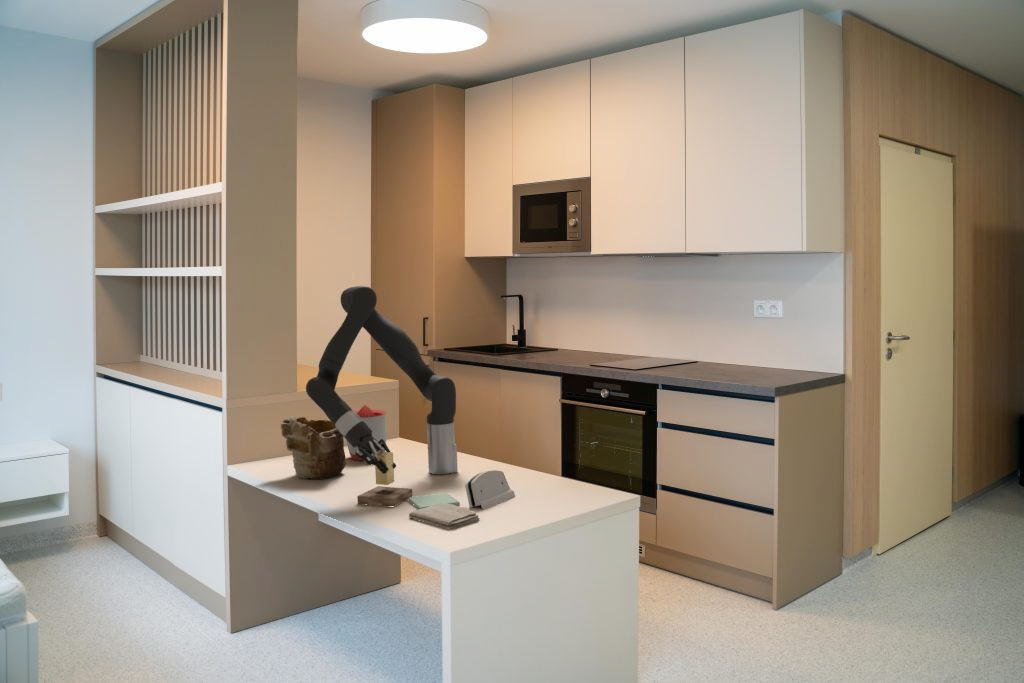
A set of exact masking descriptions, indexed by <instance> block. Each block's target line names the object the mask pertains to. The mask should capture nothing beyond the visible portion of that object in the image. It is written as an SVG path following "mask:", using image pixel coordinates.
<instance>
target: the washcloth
mask: <svg viewBox="0 0 1024 683" xmlns="http://www.w3.org/2000/svg"><path fill="white" fill-rule="evenodd" d="M408 518H409V519H410V518H413V519H412V520H414V519H416V520H415V521H417V520H420V521H419V522H421V521H424V522H423V523H425V522H426V523H425V524H428V523H430V525H433V526H436V525H437V527H439V526H440V528H443V529H446V530H451V529H457V528H460V527H463V526H466V525H469V524H472V523H475V522H478V521H479V520H480V517H479V515H478V514H477V511H472V510H470V509H468V507H466V506H463V507H462V506H460V505H457V506H456V505H452V504H446V503H437V504H434V505H431V506H429V507H426V508H422V509H418V508H417V509H416V510H413V511H411V512H409V513H408Z"/></svg>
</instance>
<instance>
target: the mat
mask: <svg viewBox="0 0 1024 683" xmlns="http://www.w3.org/2000/svg"><path fill="white" fill-rule="evenodd" d="M408 500H409V501H410V502H411V503H410V502H409V501H408ZM408 500H407V501H408V502H409V503H410V504H412V505H413V504H414V505H415V506H416V507H417V508H416V507H415V506H414V505H413V506H414V507H415V508H416V509H418V508H419V509H422V508H426V507H429V506H431V505H434V504H437V503H446V504H452V505H456V506H460V505H461V504H460V500H458V499H456V498H455V497H454V496H452V495H451V494H449V493H447V492H439V493H434V494H432V493H431V494H427V495H424V494H423V495H417V496H413V497H410V498H408Z"/></svg>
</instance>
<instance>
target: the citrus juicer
mask: <svg viewBox="0 0 1024 683" xmlns="http://www.w3.org/2000/svg"><path fill="white" fill-rule="evenodd" d="M353 411H354V412H355V413H356V414H357V415H358V416H359V417H360V418H361V419H362V420H363V421H364V422H365V423H366V424H367V426H368V427H369V428H370V429H371V430H372V437H373V438H375V439H376V440H377V441H380V440H381V439H383V440H384V442H385V443H386V444H387V434H388V433H387V416H386V415H387V412H386V410H380V409H379V410H378V409H371V408H370V407H369V406H368V405H366V404H365V405H362V407H361V408H360V409H359V410H353ZM345 441H346V442H345V443H346V446H347V449H348V453H349V456H350V457H351V459H352V460H355V461H357V460H358V461H363V460H362V459H361V458H359V457H358V456H357V455H356V454H355V452H356V451H357V450H358V447H357V448H354V447H352V445H351V444H350V443H349V442H348V441H347V440H346V439H345ZM379 452H380V450H379V451H378V452H377V453H379ZM374 458H375V457H374ZM366 459H367V458H366Z"/></svg>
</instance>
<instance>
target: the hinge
mask: <svg viewBox="0 0 1024 683" xmlns="http://www.w3.org/2000/svg"><path fill="white" fill-rule="evenodd" d="M504 473H505V472H504V471H502V470H498V469H495V470H493V469H492V470H487V471H484V472H483V471H482V472H479V473H477V474H476V475H475V476H473V477H471V478H470V479H469V480H467V481H466V483H465V485H464V487H465V491H466V492H465V493H466V496H467V497H466V498H467V501H468V505H469V506H468V507H469V508H474V507H478V506H481V510H486V509H488V508H492V507H493V506H496V505H497V504H498V505H499V504H500V503H503V502H507V500H510V499H512V498H513V499H514V498H515V497H516V495H515V491H514V490H513V489H512V488H510V485H509V483H508V481H507V478H506V475H505V474H504Z"/></svg>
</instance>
